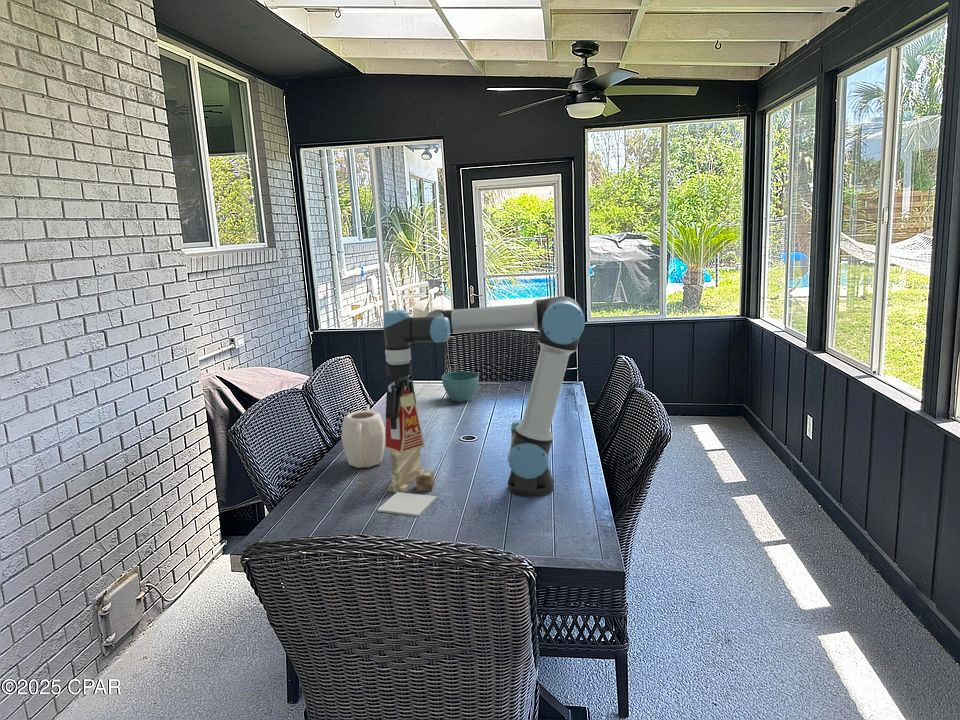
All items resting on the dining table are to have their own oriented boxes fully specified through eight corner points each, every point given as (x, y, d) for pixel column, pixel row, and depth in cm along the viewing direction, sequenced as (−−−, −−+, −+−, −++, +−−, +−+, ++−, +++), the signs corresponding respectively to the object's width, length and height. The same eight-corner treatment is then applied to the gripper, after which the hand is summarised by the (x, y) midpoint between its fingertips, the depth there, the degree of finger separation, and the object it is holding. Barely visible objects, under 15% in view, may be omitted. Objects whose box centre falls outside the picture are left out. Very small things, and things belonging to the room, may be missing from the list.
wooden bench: (426, 473, 236) (423, 429, 233) (404, 493, 219) (401, 446, 216) (410, 471, 238) (408, 428, 235) (387, 491, 221) (384, 445, 218)
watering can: (391, 449, 262) (388, 402, 259) (382, 474, 236) (378, 423, 233) (351, 450, 262) (348, 404, 259) (338, 476, 236) (334, 424, 232)
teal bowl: (479, 404, 322) (478, 379, 319) (441, 405, 322) (440, 380, 320) (479, 394, 340) (479, 370, 337) (444, 395, 340) (442, 372, 338)
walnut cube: (434, 485, 225) (433, 470, 224) (432, 490, 220) (431, 476, 219) (419, 485, 226) (418, 470, 225) (417, 491, 221) (416, 476, 220)
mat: (436, 498, 214) (436, 496, 214) (418, 516, 201) (418, 514, 201) (397, 493, 219) (397, 492, 219) (377, 511, 206) (377, 509, 206)
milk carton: (424, 446, 207) (421, 383, 203) (402, 454, 200) (398, 390, 196) (405, 440, 213) (401, 379, 209) (382, 448, 206) (378, 385, 202)
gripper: (403, 354, 212) (407, 422, 217) (370, 369, 192) (375, 444, 197) (424, 355, 210) (428, 424, 214) (393, 370, 190) (398, 446, 194)
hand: (402, 433), depth 205 cm, fingers closed on milk carton, 9 cm apart
